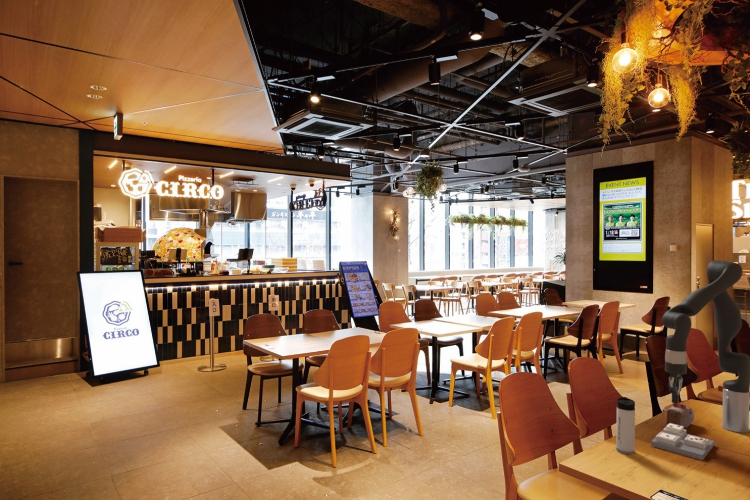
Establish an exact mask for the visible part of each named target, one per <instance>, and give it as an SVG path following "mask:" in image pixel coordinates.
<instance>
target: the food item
mask: <svg viewBox="0 0 750 500" xmlns="http://www.w3.org/2000/svg"><path fill="white" fill-rule="evenodd" d="M665 413H666V414H665V425H666V426H667V425H668V424H669V423H671V424H675V425H679V426H683V427H684V428H685V429H688V428H689V426H690V425H691V424H692V423H693V422H694V420H695V415H694V414H695V411H694V410H693V409H692V407H691V406H689V405H687V404H683V403H680V402H679V403H678V404H675V403H672V406H671V407H669V408H667V409H666V411H665ZM666 426H665V427H666ZM684 428H683V429H684Z"/></svg>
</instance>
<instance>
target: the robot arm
mask: <svg viewBox="0 0 750 500" xmlns="http://www.w3.org/2000/svg"><path fill="white" fill-rule="evenodd" d="M742 275H743V268H742V266H741V265H740V264H739V263H736V262H733V261H726V260H711V261H710V262H709V263H708V265H707V267H706V278H707V281H708V284H706V285H704V286H702V287H700V288H697V289H696V290H694V291H692V292H691V293H689V294H688V295H687V296H686V297H685V298H684V299H683V300H682V301H681V302H680V303H678V304H676V305H675V306H673V307H672V308H669V309H668V310H667V311H665V313H663V315H662V318H661V323H662V325H663V326H664V327H666V328H667V329H671V330H674V332H673V334H669V335H667V336H666V339H665V352H664V353H665V354H664V371H665V372H666V373H669V375H670V376H668V381H669V382H667V386H668V390H669V393H670V394H671V403H672V404H674V403H675V404H678V403H679V404H680V394H681V392H682V387H683V382H684V378H683V377H682V375H687V371H688V370H687V369H688V368H687V367H688V362H687V361H688V356H687V341H688V338H689V335H690V331H691V329H692V319H691V317H695V316H696V315H698V314H699V313H700V312H701V311H702V310H703V309H704V308H705V307H706V306H707V305H708V304H709V303H710V302H711V301H712V305H713V315H714V322H715V328H716V335H717V336H716V337H717V354H718V355H717V358H718V365H719V370H721V372H724V373H728V374H732V375H738V376H737V379H736V378H735V379H729V380H724V381H723V382H722V421H721V422H722V428H724V429H725V430H728V431H730V432H734V433H742V434H743V433H744V434H747V433H749V432H750V356H749V355H748V354H746V353H740V352H734V351H731V349H730V346H731V343H732V341H733V339H734V338H736V336H737V335H738V333H739V332H740V330H741V329H742V326H743V323H742V313H741V310H740V308H739V306H738V305H737V303H736V301H735V300H734V299H733V298H732V296H731V295H730V294H729V292H728V290H729V288H731V287H733V286H734V285H735V284H737V283H738V282H739V281H740V280H741V278H742Z"/></svg>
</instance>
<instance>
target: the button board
mask: <svg viewBox="0 0 750 500" xmlns="http://www.w3.org/2000/svg"><path fill="white" fill-rule="evenodd" d="M661 433H666V434H670V435H674V436H677V438H676V439H675V440H670V439H667V438H663V437H659V435H660V434H661ZM689 436H694V437H698V438H702V439H705V442H704V443H699V442H695V441H691V440H687V438H688V437H689ZM650 443H651V444H650V446H651V447H654V448H657V449H660V450H664V451H668V452H672V453H674V454H678V455H682V456H685V457H689V458H692V459H696V460H700V461H704V459H705V458H706V456H707V455H708V454H709V453H710V452H711V450H713V448H714V446H715V441H714V440H711V439H710V438H709V439H707V438H704V437H700V436H697V435H694V434H693V435H691V434H690V433H689V434H688V433H687V429H684V428H683V432H682V433H677V432H673V431H669V430H666V427H664V428H663V429H662V431H660V432H658V434H656V435H655V437H654V438H653V439H652V440H651V441H650Z"/></svg>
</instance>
